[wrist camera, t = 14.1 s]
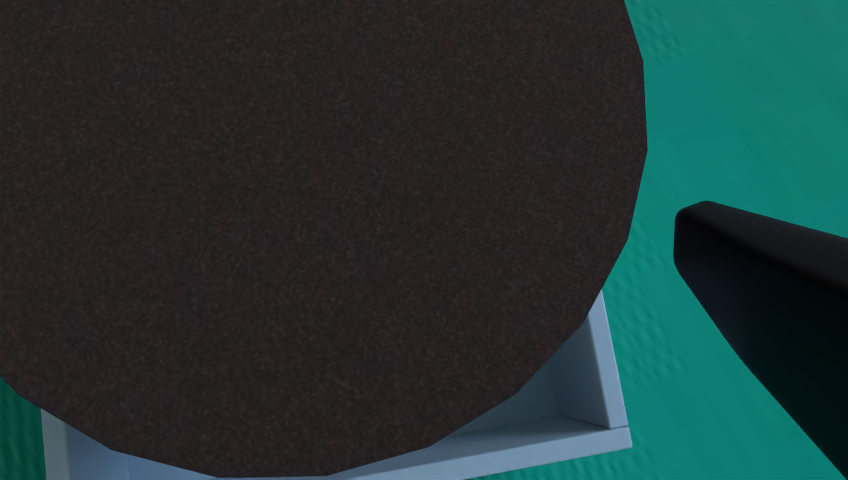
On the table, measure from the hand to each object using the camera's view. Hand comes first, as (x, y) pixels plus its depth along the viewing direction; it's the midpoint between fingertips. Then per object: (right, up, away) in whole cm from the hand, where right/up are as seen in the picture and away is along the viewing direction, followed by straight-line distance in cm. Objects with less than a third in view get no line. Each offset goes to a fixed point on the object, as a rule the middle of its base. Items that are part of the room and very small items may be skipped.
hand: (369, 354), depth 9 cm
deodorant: (-2, 0, +12) cm, 12 cm away
